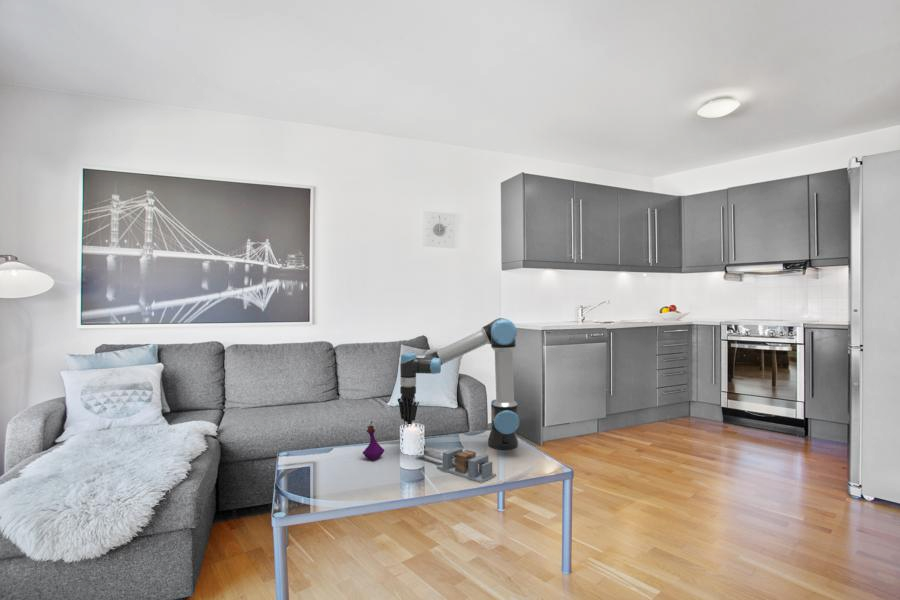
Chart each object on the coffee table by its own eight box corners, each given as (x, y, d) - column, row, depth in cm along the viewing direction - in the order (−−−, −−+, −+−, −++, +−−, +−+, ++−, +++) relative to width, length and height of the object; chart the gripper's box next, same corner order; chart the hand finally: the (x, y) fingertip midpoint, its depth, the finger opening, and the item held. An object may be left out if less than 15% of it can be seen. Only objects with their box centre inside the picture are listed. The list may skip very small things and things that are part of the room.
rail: (452, 462, 214) (451, 445, 214) (496, 476, 197) (496, 457, 197) (436, 468, 206) (436, 450, 206) (481, 483, 190) (481, 464, 190)
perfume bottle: (362, 459, 219) (361, 421, 219) (372, 454, 225) (371, 417, 225) (375, 462, 215) (374, 422, 215) (384, 457, 222) (384, 419, 222)
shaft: (423, 453, 222) (423, 444, 222) (459, 465, 207) (459, 454, 207) (416, 456, 219) (416, 446, 219) (452, 467, 204) (452, 457, 204)
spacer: (466, 466, 206) (466, 450, 206) (475, 468, 203) (475, 452, 203) (455, 470, 201) (455, 454, 201) (464, 473, 197) (463, 457, 197)
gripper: (393, 384, 227) (393, 433, 227) (411, 388, 219) (411, 439, 219) (404, 382, 233) (404, 430, 233) (423, 386, 224) (422, 435, 224)
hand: (407, 434), depth 226 cm, fingers closed
